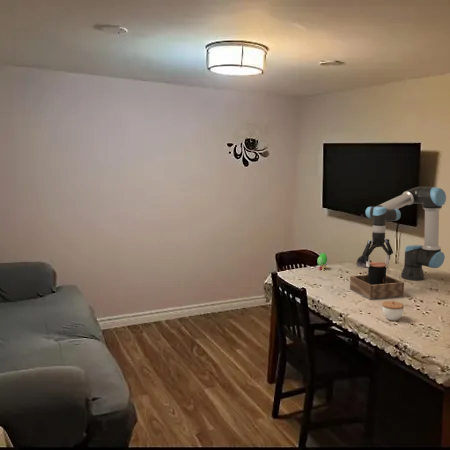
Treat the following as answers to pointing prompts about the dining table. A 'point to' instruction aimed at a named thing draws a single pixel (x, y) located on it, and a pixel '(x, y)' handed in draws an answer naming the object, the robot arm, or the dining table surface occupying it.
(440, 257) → the robot arm
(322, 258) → the green toy tree
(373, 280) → the coffee jar
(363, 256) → the crystal cluster
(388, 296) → the open wooden box
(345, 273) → the dining table surface
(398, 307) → the lidded jar
